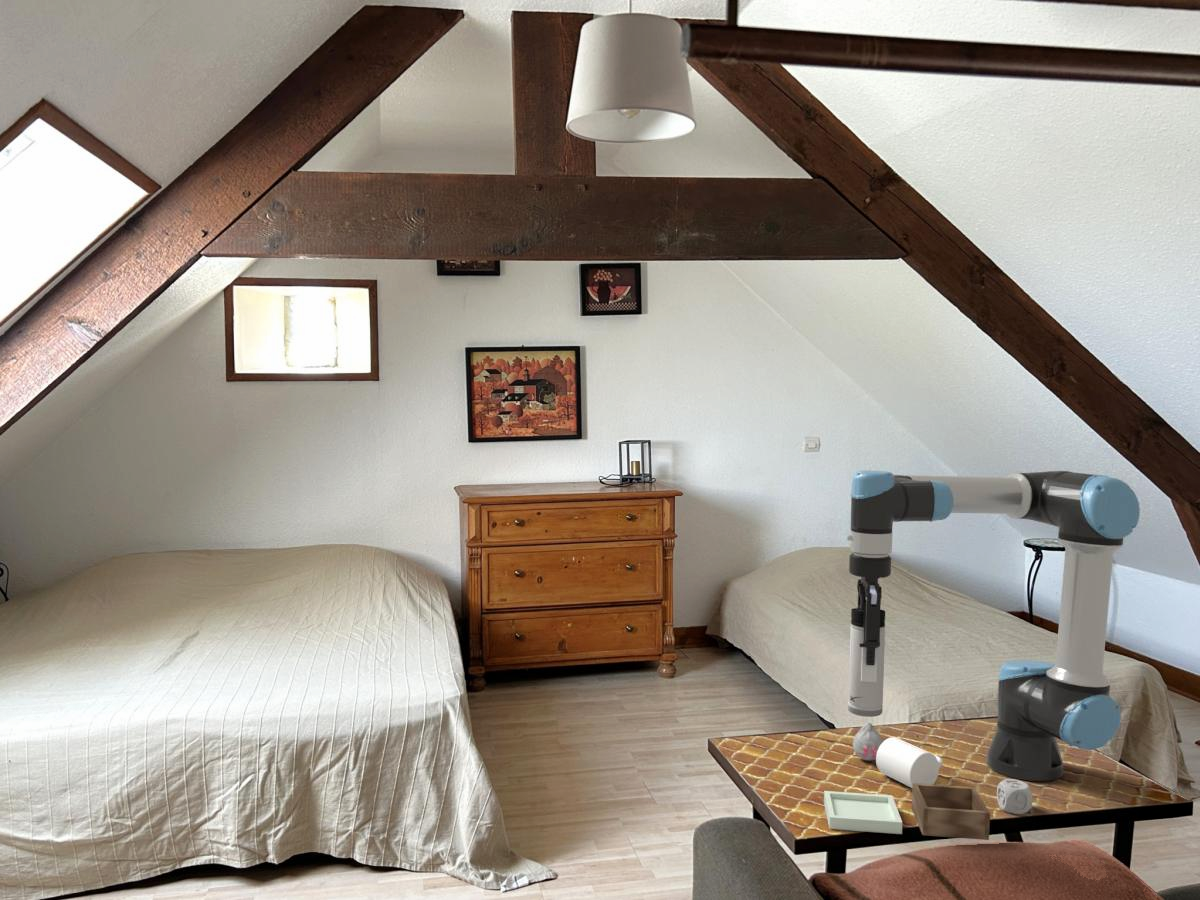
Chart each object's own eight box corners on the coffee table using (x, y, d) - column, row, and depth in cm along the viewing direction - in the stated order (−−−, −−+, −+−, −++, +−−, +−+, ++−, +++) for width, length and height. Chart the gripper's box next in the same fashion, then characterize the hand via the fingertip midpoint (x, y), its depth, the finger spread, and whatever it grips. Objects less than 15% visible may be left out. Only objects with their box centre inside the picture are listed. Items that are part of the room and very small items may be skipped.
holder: (973, 812, 192) (974, 787, 192) (988, 839, 181) (990, 813, 180) (911, 808, 194) (912, 783, 193) (922, 835, 182) (923, 808, 182)
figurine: (853, 764, 216) (855, 728, 215) (850, 752, 222) (852, 717, 222) (885, 767, 215) (886, 730, 214) (881, 755, 221) (882, 719, 221)
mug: (909, 795, 200) (911, 756, 200) (874, 777, 209) (876, 739, 209) (953, 784, 206) (954, 746, 205) (917, 767, 215) (918, 731, 214)
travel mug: (849, 716, 185) (852, 610, 184) (846, 705, 192) (849, 602, 190) (884, 718, 184) (887, 611, 183) (880, 707, 191) (883, 603, 189)
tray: (891, 806, 195) (892, 795, 194) (901, 834, 183) (902, 822, 183) (823, 801, 196) (824, 790, 196) (829, 828, 184) (829, 817, 184)
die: (1021, 803, 197) (1022, 779, 196) (1031, 814, 192) (1033, 789, 192) (995, 803, 197) (997, 778, 197) (1005, 814, 192) (1006, 789, 192)
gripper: (844, 544, 196) (840, 660, 197) (855, 562, 177) (851, 690, 179) (883, 546, 195) (879, 662, 197) (899, 564, 176) (894, 692, 178)
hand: (866, 675), depth 188 cm, fingers closed on travel mug, 6 cm apart
